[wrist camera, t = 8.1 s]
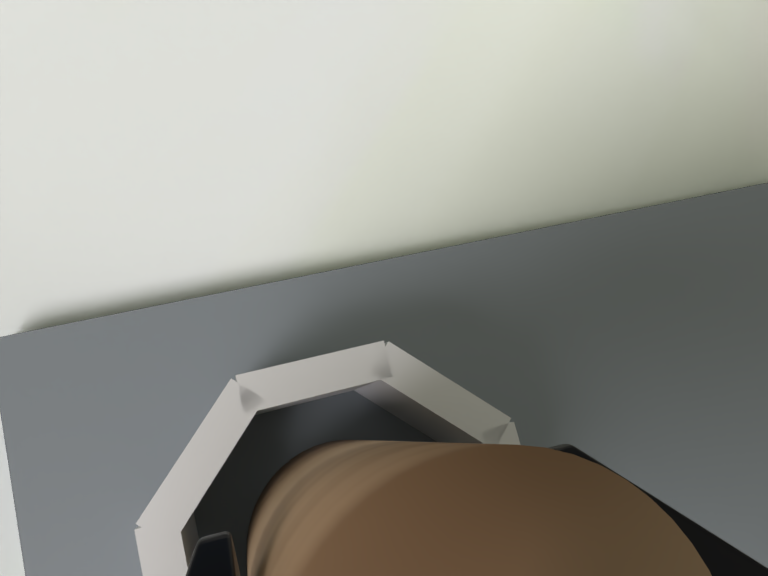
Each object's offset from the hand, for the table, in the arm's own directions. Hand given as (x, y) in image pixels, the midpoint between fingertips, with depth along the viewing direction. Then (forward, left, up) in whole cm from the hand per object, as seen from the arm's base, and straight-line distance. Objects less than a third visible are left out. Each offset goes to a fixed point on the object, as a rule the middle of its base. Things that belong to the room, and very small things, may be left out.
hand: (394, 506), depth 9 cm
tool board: (-5, -3, -9) cm, 11 cm away
